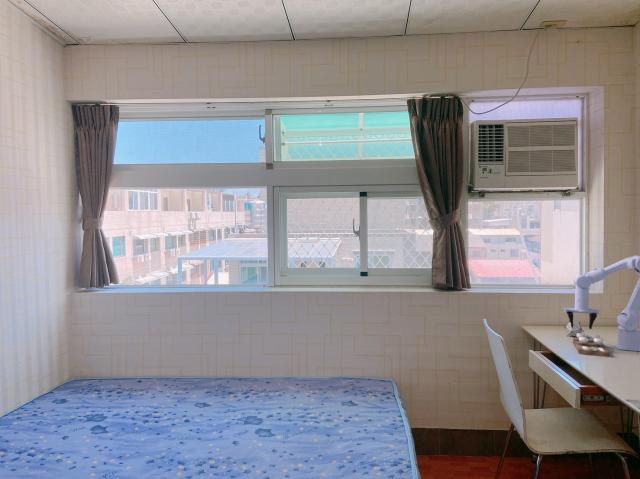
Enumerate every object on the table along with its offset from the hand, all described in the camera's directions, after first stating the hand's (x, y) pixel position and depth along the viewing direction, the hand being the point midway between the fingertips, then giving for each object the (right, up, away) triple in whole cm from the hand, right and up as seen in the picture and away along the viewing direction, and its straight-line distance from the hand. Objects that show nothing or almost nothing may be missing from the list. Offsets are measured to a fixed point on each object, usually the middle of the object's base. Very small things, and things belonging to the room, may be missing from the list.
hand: (581, 327), depth 213 cm
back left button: (0, -5, 0) cm, 5 cm away
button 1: (-3, -5, -6) cm, 8 cm away
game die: (+5, -8, +15) cm, 18 cm away
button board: (0, -9, -7) cm, 11 cm away
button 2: (+6, -5, -2) cm, 8 cm away
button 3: (+3, -5, -8) cm, 10 cm away
